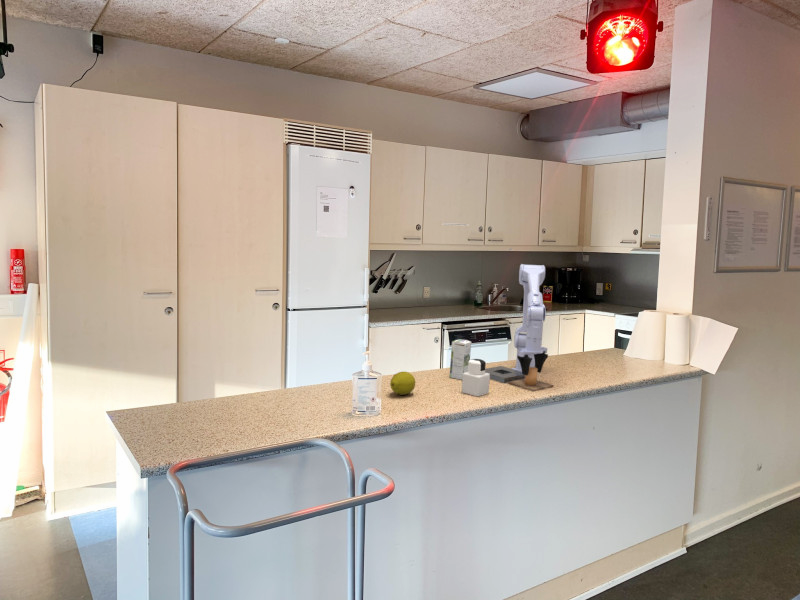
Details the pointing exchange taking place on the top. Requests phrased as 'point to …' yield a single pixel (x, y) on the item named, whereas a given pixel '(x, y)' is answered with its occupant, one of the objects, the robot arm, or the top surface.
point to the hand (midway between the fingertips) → (531, 373)
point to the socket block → (504, 374)
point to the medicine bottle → (476, 378)
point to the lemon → (402, 383)
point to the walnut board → (538, 385)
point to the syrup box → (459, 358)
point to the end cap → (531, 376)
